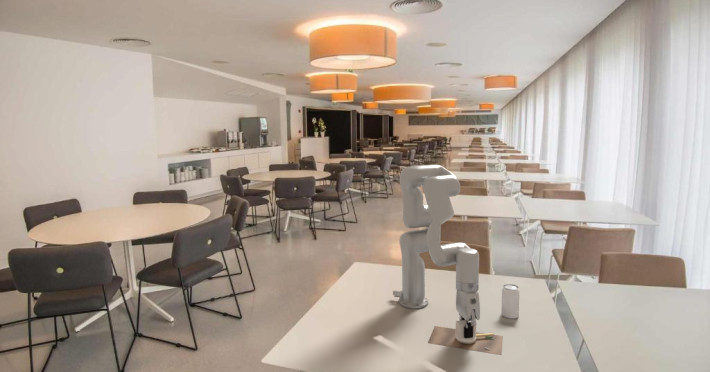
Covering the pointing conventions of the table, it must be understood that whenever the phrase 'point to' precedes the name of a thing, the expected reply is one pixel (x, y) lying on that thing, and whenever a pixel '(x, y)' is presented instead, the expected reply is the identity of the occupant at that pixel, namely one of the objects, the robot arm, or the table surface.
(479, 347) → the dial board
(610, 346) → the table surface
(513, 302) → the can
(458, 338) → the knob
